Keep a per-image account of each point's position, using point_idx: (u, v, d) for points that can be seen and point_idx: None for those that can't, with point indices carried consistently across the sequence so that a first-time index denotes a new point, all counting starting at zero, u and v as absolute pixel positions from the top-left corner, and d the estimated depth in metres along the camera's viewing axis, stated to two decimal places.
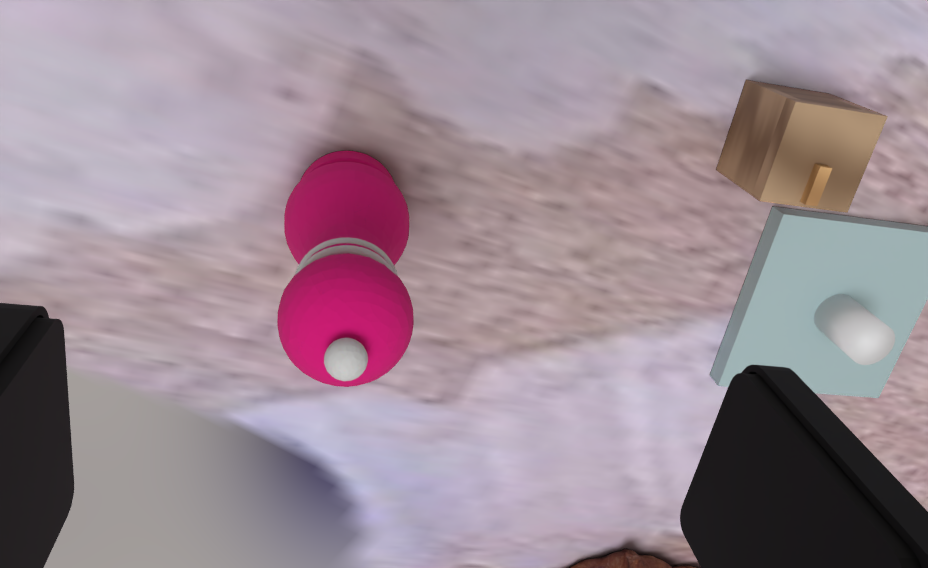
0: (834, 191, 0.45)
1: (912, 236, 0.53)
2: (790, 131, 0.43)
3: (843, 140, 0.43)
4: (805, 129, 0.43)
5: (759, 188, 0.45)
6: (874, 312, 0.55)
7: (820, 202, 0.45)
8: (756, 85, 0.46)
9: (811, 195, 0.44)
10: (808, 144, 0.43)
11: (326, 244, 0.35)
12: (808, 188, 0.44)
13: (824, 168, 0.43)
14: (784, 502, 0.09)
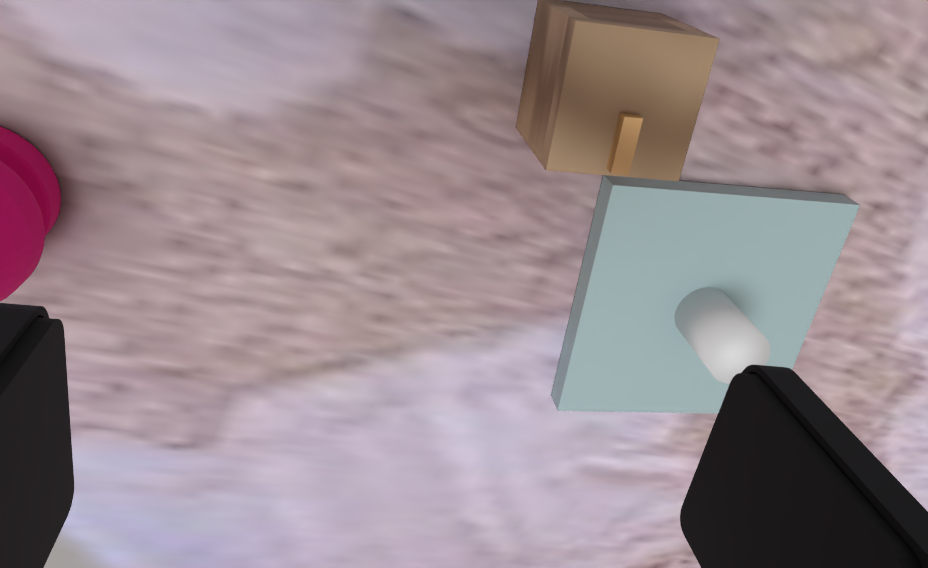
0: (654, 151, 0.31)
1: (796, 207, 0.39)
2: (575, 66, 0.29)
3: (657, 77, 0.30)
4: (598, 63, 0.29)
5: (546, 151, 0.31)
6: (755, 308, 0.42)
7: (637, 168, 0.32)
8: (546, 3, 0.32)
9: (618, 159, 0.31)
10: (605, 84, 0.30)
11: None
12: (613, 149, 0.31)
13: (631, 119, 0.30)
14: (784, 502, 0.09)
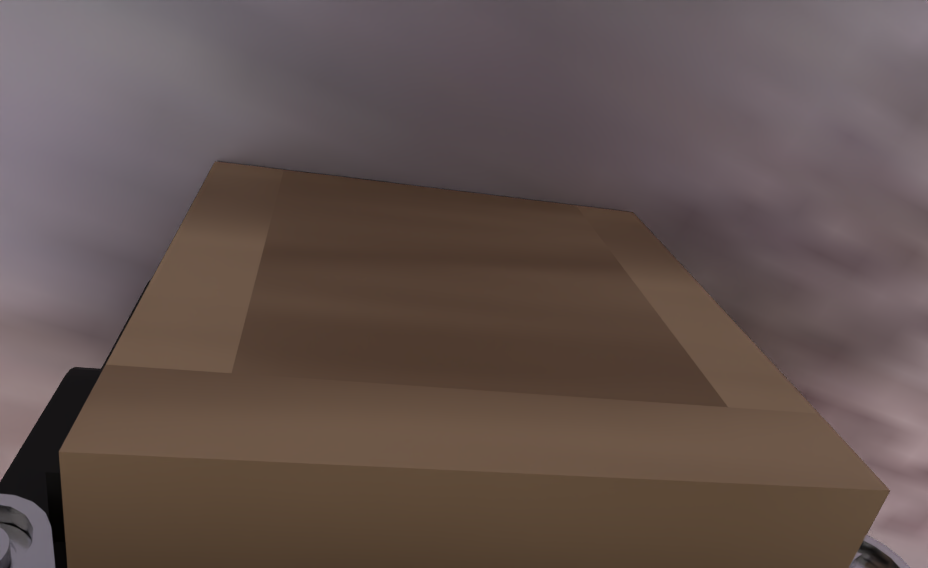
0: None
1: None
2: None
3: None
4: None
5: None
6: None
7: None
8: (195, 202, 0.09)
9: None
10: None
11: None
12: None
13: None
14: None
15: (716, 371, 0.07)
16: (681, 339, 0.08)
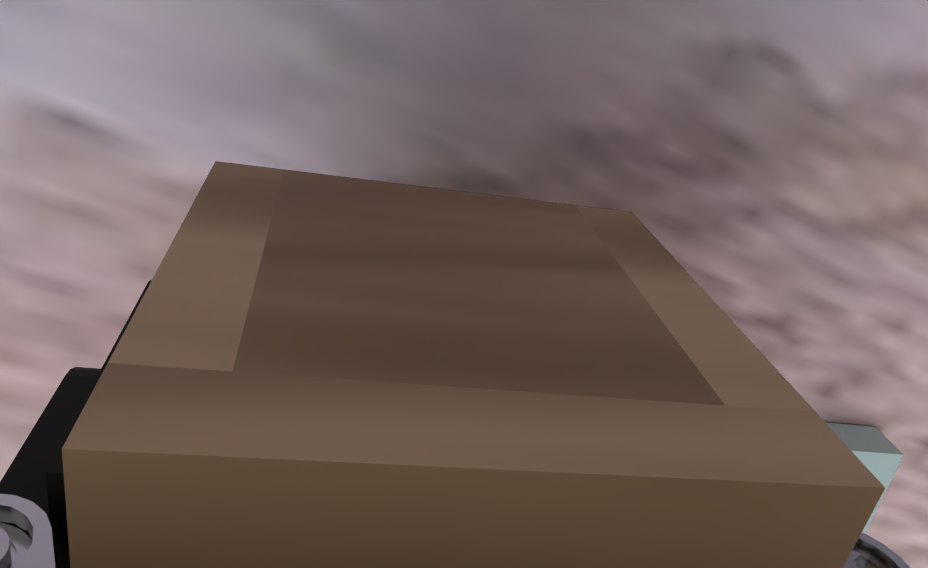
0: None
1: None
2: None
3: None
4: None
5: None
6: None
7: None
8: (196, 202, 0.09)
9: None
10: None
11: None
12: None
13: None
14: None
15: (713, 370, 0.07)
16: (679, 338, 0.08)
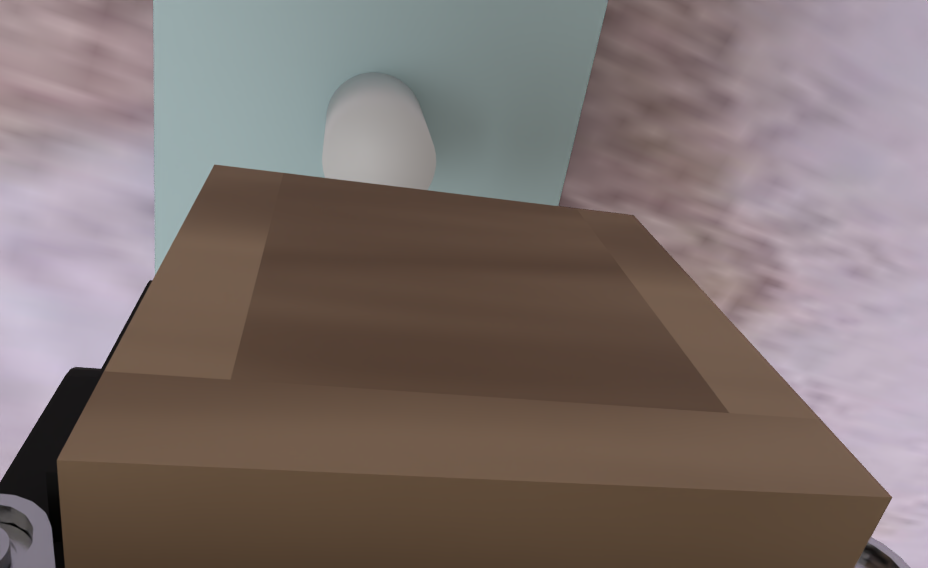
0: None
1: None
2: None
3: None
4: None
5: None
6: (469, 122, 0.25)
7: None
8: (194, 206, 0.09)
9: None
10: None
11: None
12: None
13: None
14: None
15: (717, 376, 0.07)
16: (682, 344, 0.08)
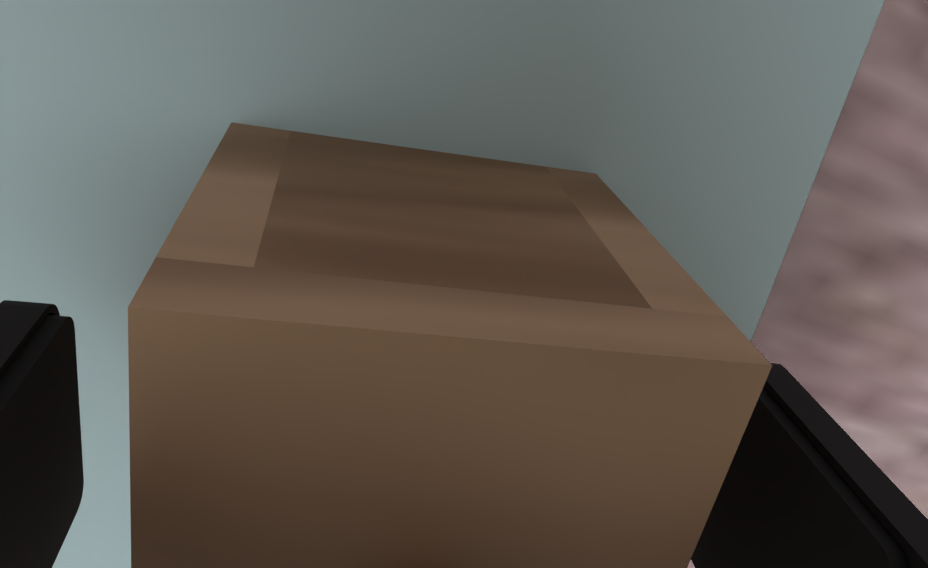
0: None
1: None
2: (168, 468, 0.07)
3: (526, 490, 0.08)
4: (269, 454, 0.07)
5: None
6: None
7: None
8: (216, 152, 0.10)
9: None
10: (315, 520, 0.07)
11: None
12: None
13: None
14: (774, 497, 0.09)
15: (647, 285, 0.09)
16: (622, 263, 0.09)
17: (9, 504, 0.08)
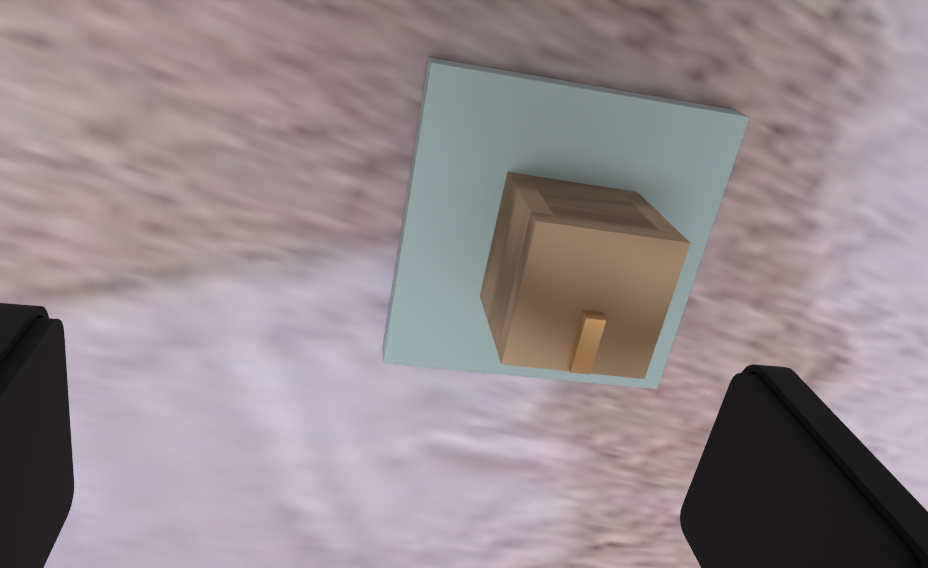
0: (619, 349, 0.29)
1: (669, 113, 0.32)
2: (534, 265, 0.27)
3: (623, 278, 0.28)
4: (559, 262, 0.27)
5: (502, 344, 0.29)
6: None
7: (599, 365, 0.30)
8: (513, 183, 0.31)
9: (578, 359, 0.29)
10: (567, 283, 0.28)
11: None
12: (574, 347, 0.29)
13: (593, 321, 0.28)
14: (784, 502, 0.09)
15: (657, 225, 0.29)
16: (649, 219, 0.29)
17: None
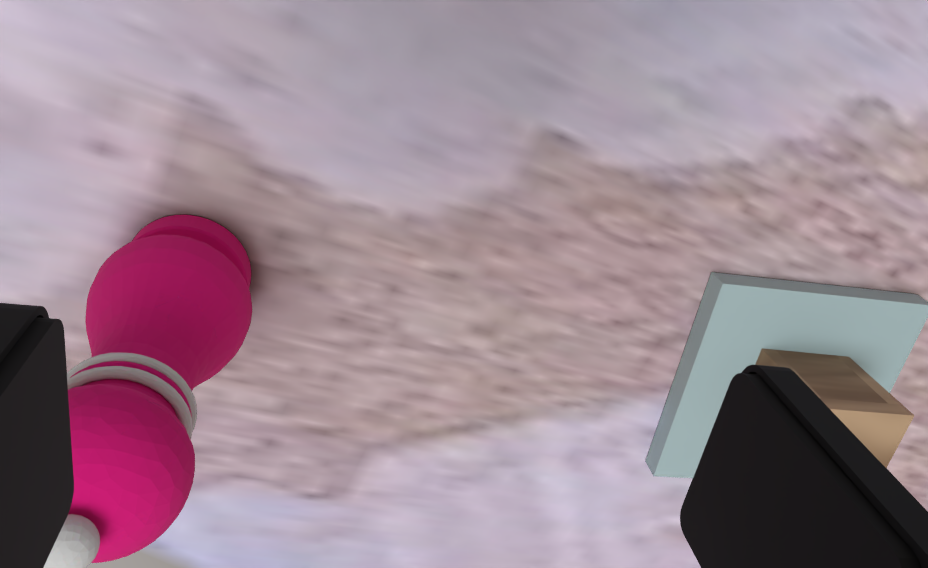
0: None
1: (878, 306, 0.44)
2: None
3: (866, 438, 0.41)
4: None
5: None
6: None
7: None
8: (773, 362, 0.43)
9: None
10: None
11: (89, 362, 0.27)
12: None
13: None
14: (784, 502, 0.09)
15: (884, 397, 0.42)
16: (875, 391, 0.42)
17: None
